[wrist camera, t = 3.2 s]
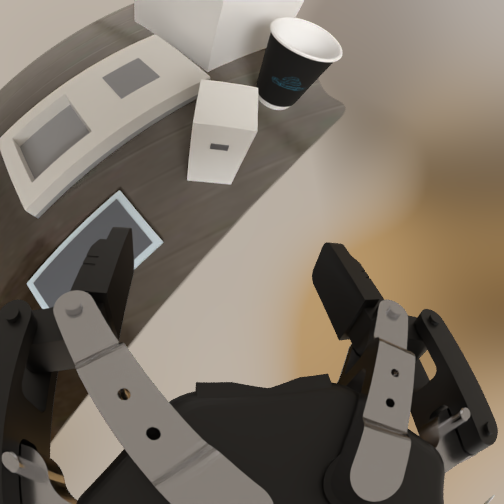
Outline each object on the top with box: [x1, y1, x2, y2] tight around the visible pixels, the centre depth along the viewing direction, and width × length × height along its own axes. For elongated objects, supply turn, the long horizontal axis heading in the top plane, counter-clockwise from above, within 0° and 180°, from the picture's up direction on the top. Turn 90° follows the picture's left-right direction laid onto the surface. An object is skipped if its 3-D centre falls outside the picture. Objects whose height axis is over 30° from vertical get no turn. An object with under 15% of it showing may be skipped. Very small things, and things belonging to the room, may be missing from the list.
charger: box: [187, 79, 258, 185], centre depth 22 cm, size 5×4×10 cm
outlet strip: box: [0, 34, 211, 219], centre depth 23 cm, size 24×12×3 cm, turn 134°
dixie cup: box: [256, 17, 342, 110], centre depth 25 cm, size 8×8×11 cm
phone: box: [27, 190, 163, 309], centre depth 22 cm, size 14×7×1 cm, turn 135°
